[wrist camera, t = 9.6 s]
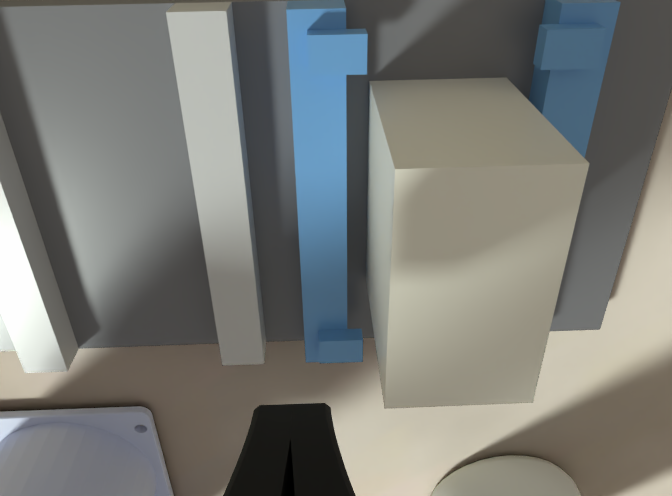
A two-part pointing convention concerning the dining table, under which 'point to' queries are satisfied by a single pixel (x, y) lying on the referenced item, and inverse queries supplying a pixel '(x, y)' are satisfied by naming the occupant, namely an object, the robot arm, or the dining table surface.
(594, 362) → the dining table surface
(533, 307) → the tall cream block
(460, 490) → the milk bottle
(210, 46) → the board
